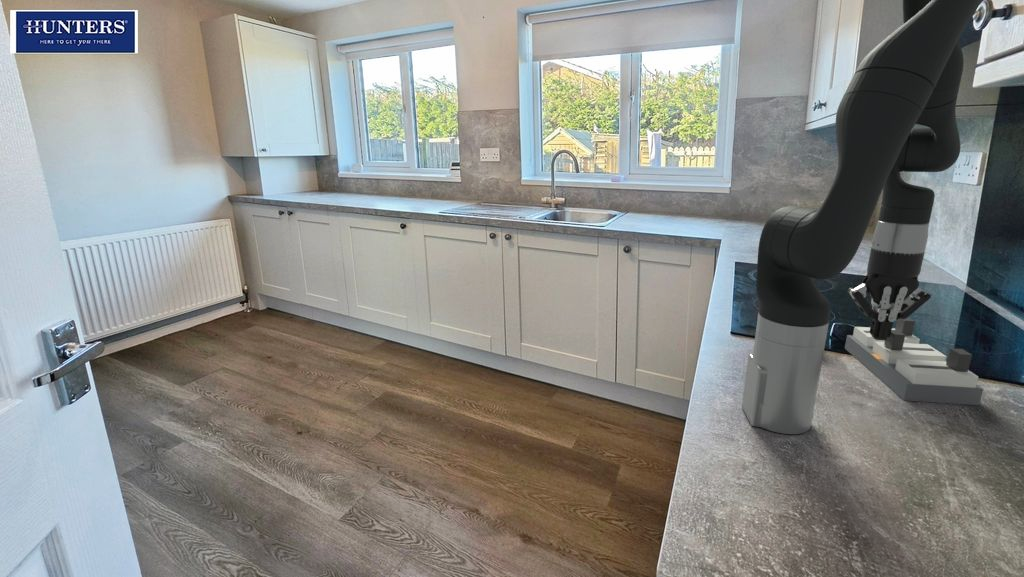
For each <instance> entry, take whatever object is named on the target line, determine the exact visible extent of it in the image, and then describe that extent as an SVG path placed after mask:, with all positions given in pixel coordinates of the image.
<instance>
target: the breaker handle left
mask: <svg viewBox="0 0 1024 577" xmlns="http://www.w3.org/2000/svg"><path fill="white" fill-rule="evenodd" d="M915 323H916V321H915V320H914V319H912V318H911V317H910V316H908V317H907V318H906V319H897V320H896V324H895V328H894V329H895V330H899V331H900V332H902V333H903V334H905V335H909V336H912V335H913V333H914V328H915Z"/></svg>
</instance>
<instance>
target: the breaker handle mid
mask: <svg viewBox="0 0 1024 577" xmlns="http://www.w3.org/2000/svg"><path fill="white" fill-rule="evenodd" d="M904 339H905V334H903V333H902V332H900V331H899V330H891V335H890V336H889V338H888V337H887V339H886V340H885V343H884V345H885V346H887V347H888V348H889V349H891V350H902V348H903V343H904Z"/></svg>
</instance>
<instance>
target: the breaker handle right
mask: <svg viewBox="0 0 1024 577" xmlns="http://www.w3.org/2000/svg"><path fill="white" fill-rule="evenodd" d="M972 357H973V354H972V353H970V352H968V351H966V350H965V349H963V348H949V350H948V355H947V358H946V362H947V363H946V365H947V366H949V367H950V368H952V369H953V370H955V371H966V372H968V370H969V369H970V364H971V361H972Z"/></svg>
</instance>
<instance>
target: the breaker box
mask: <svg viewBox="0 0 1024 577" xmlns="http://www.w3.org/2000/svg"><path fill="white" fill-rule="evenodd" d="M870 327H871V326H869V327H868V326H866V327H865V326H854V328H853V333H852V335H851V334H847V335H846V339H845V344H844V349H845V351H847V352H848V353H849V354H850V355H851V356H853V357H854V358H855V359H856V360H857V361H859V363H861V365H863V366H864V367H865V368H866V369H867V370H869V371H870V372H871V373H872V374H873V375H875V377H877V378H878V380H880V381H881V382H882V383H883V384H884V385H886V387H888V388H889V389H890V390H891V391H892V392H893V393H895V394H896V395H897V396H898V397H899V398H900V399H902V400H903V401H911V402H913V401H914V402H925V403H938V404H953V405H954V404H955V405H966V406H967V405H970V406H980V403H981V401H982V400H981V399H982V397H983V392H984V388H983V387H981V386H980V385H978V380H979V376H978V375H977V374H975V373H974V372H972V371H971V370H969V369H968V372H966V371H955V370H953V369H952V368H950V367H949V366H947V365H946V363H947V359H948V355H945V354H943V353H942V352H940V351H939V350H938V349H936V348H935V347H932V346H931V345H929V344H928V343H920V342H921V339H920V338H919V337H917V336H916V335H914V334H912V336H909V335H905V339H904V343H903V348H902V350H891V349H889V348H888V347H887V346H885V345H884V343H885V340H876V339H874V338H873V337H872V335H871V334H870ZM892 330H895V328H894V327H892Z"/></svg>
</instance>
